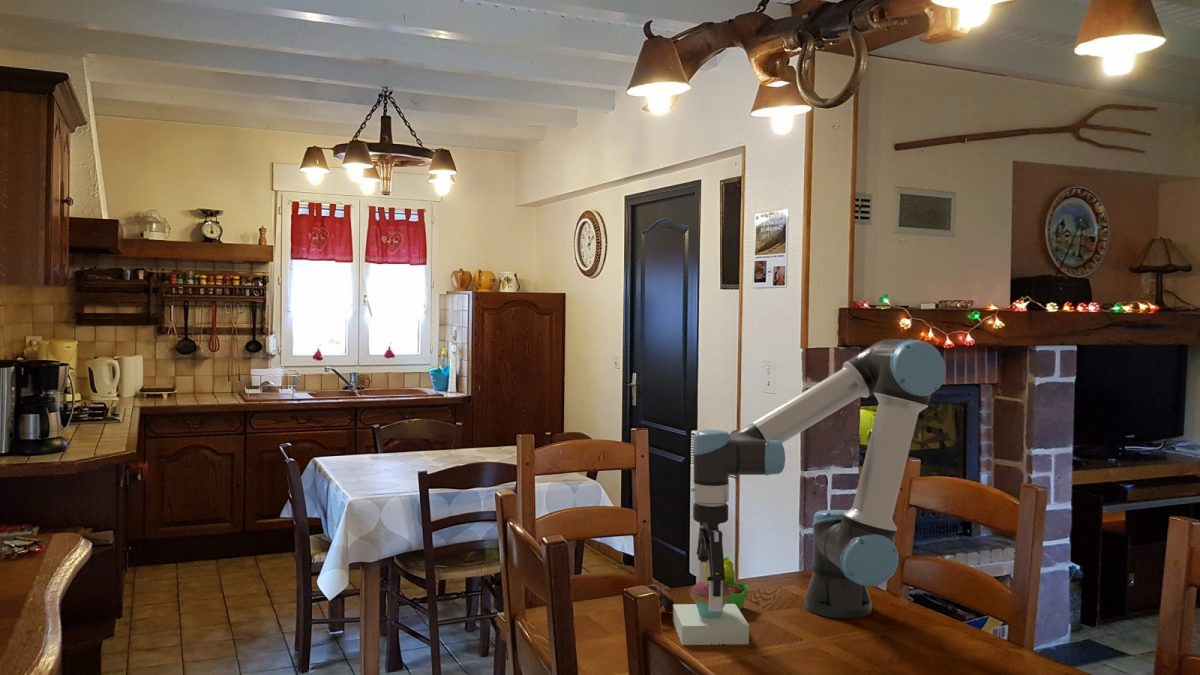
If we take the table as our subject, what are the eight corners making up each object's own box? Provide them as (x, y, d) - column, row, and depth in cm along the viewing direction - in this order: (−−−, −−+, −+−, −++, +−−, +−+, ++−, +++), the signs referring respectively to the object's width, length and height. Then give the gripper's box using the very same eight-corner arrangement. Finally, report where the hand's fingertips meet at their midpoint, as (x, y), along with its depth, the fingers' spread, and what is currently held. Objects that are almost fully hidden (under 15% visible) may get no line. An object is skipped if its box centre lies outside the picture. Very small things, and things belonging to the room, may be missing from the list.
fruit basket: (693, 609, 211) (693, 561, 211) (703, 599, 219) (704, 552, 219) (741, 616, 207) (741, 567, 207) (750, 605, 215) (750, 557, 215)
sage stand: (735, 621, 203) (735, 603, 203) (748, 644, 189) (748, 625, 189) (672, 622, 202) (673, 604, 202) (682, 645, 188) (682, 626, 188)
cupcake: (719, 623, 190) (719, 566, 190) (682, 616, 195) (683, 560, 194) (735, 612, 197) (736, 557, 197) (700, 605, 202) (701, 551, 201)
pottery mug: (681, 626, 201) (665, 597, 200) (643, 642, 203) (626, 613, 201) (678, 596, 213) (663, 568, 211) (642, 611, 214) (626, 584, 213)
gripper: (684, 491, 207) (684, 583, 208) (703, 515, 182) (702, 620, 183) (717, 491, 208) (716, 583, 208) (740, 515, 183) (739, 619, 183)
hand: (709, 600), depth 196 cm, fingers open, 13 cm apart
